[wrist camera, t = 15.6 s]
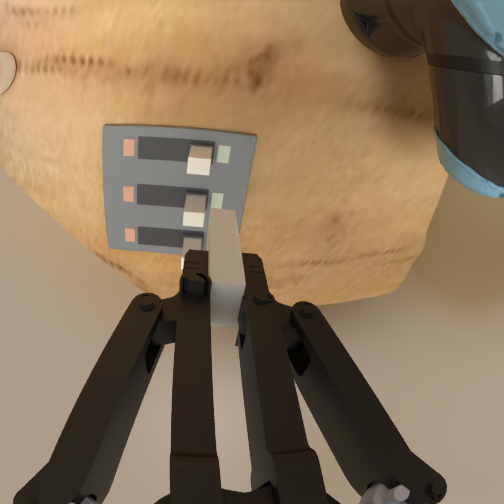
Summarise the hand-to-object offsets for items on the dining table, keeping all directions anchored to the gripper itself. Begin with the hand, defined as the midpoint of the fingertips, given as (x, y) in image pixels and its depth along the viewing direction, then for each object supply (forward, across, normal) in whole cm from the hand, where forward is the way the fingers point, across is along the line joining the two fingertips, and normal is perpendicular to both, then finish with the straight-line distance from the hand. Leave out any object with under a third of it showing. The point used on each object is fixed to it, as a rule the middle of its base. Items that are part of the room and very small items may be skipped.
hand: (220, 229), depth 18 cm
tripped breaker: (+23, -2, -16) cm, 28 cm away
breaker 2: (+23, -2, -9) cm, 25 cm away
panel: (+24, -6, -9) cm, 27 cm away
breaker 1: (+23, -2, -2) cm, 23 cm away
